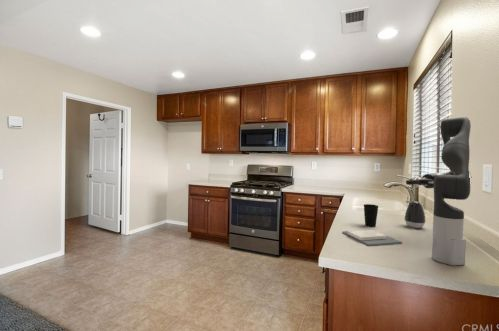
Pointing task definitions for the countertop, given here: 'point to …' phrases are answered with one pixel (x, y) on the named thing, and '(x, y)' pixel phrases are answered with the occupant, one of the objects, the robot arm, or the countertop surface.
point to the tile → (367, 235)
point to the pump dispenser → (415, 215)
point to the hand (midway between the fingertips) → (407, 182)
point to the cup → (370, 214)
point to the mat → (375, 240)
